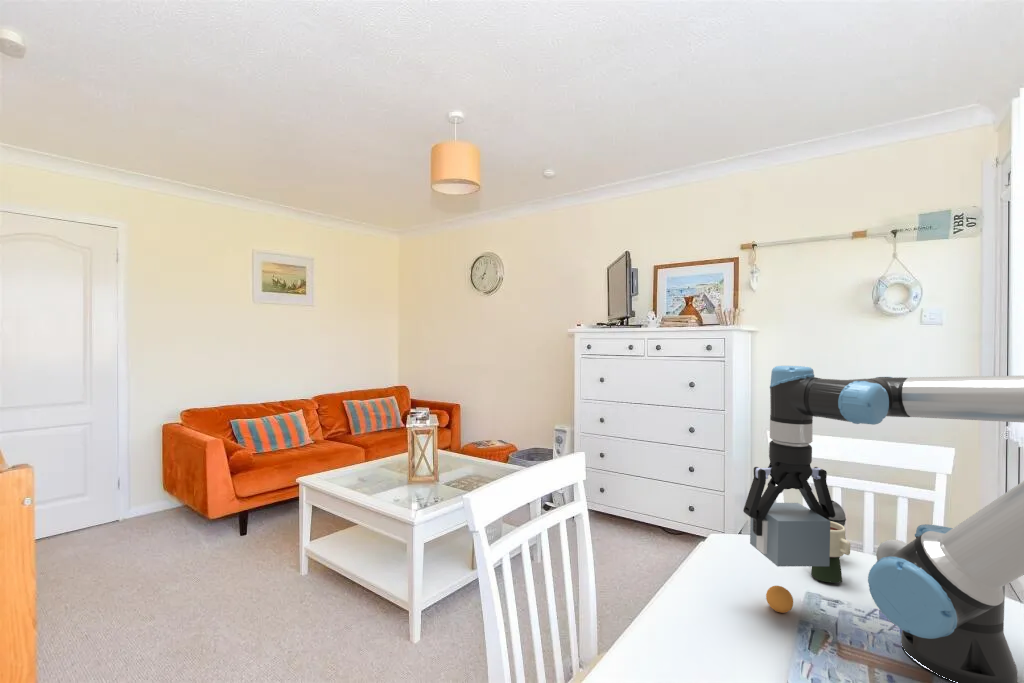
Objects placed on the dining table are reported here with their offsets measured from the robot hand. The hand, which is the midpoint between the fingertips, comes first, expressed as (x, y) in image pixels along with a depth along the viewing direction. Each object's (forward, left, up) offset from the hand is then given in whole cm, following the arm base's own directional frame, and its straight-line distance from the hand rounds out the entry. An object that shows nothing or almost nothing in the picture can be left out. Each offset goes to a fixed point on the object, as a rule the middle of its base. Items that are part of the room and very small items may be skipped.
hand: (788, 550), depth 99 cm
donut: (-1, -37, -14) cm, 40 cm away
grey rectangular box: (0, 0, -1) cm, 1 cm away
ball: (+2, -1, -11) cm, 12 cm away
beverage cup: (+13, -33, -14) cm, 38 cm away
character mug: (+7, -23, -14) cm, 28 cm away
